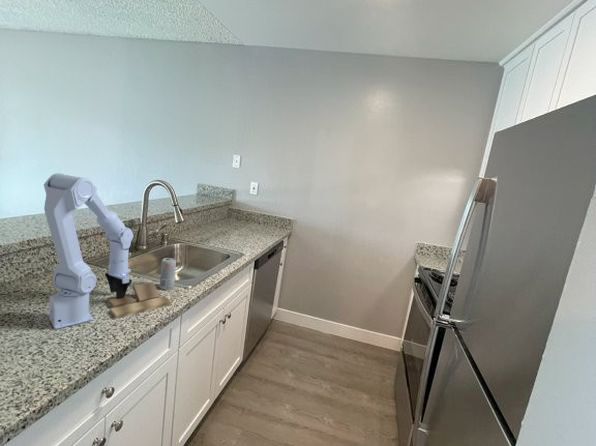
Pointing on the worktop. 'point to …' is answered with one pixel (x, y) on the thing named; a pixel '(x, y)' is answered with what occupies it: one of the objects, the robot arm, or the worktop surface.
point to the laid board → (139, 307)
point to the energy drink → (168, 273)
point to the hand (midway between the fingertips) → (117, 295)
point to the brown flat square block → (121, 301)
